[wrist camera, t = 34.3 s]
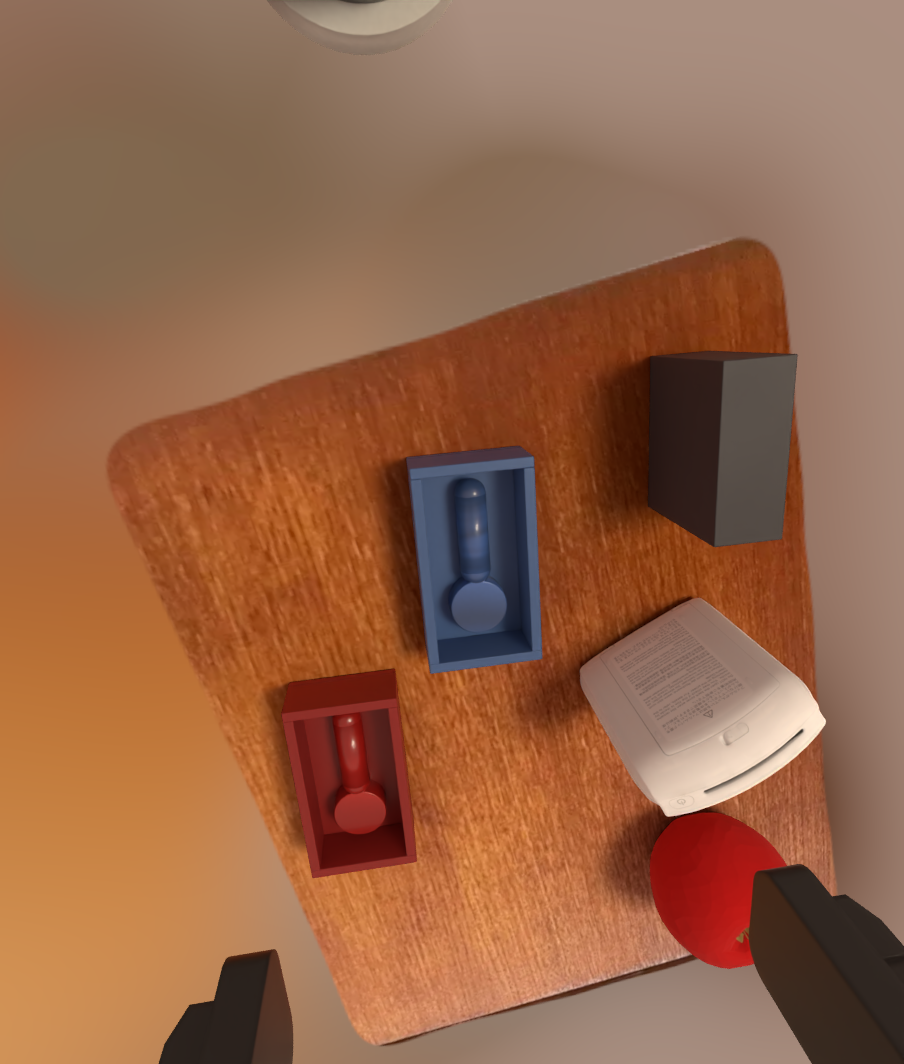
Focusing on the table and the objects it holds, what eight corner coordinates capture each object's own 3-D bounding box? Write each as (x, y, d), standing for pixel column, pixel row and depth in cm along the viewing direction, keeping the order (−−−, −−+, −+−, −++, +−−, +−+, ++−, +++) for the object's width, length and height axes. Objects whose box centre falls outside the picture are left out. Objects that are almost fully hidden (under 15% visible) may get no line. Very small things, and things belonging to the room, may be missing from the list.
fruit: (635, 898, 48) (699, 1035, 39) (628, 803, 45) (695, 926, 36) (749, 872, 49) (839, 1001, 39) (749, 778, 46) (846, 892, 36)
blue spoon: (437, 477, 36) (440, 484, 34) (495, 471, 36) (501, 478, 35) (450, 626, 39) (454, 639, 37) (504, 619, 39) (510, 632, 38)
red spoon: (318, 701, 39) (315, 717, 38) (372, 694, 40) (372, 710, 38) (338, 822, 42) (337, 843, 41) (388, 815, 43) (389, 835, 41)
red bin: (288, 682, 39) (281, 713, 36) (394, 668, 40) (396, 698, 37) (317, 837, 43) (312, 878, 40) (413, 822, 44) (417, 862, 40)
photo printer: (595, 713, 43) (679, 855, 31) (565, 668, 41) (641, 798, 30) (726, 633, 42) (861, 747, 30) (699, 584, 41) (831, 684, 29)
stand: (650, 356, 36) (723, 360, 28) (709, 350, 36) (798, 353, 29) (647, 506, 39) (714, 547, 31) (703, 500, 39) (782, 539, 31)
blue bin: (406, 457, 36) (409, 469, 33) (519, 445, 37) (534, 456, 33) (425, 646, 40) (430, 674, 36) (528, 633, 40) (542, 659, 37)
